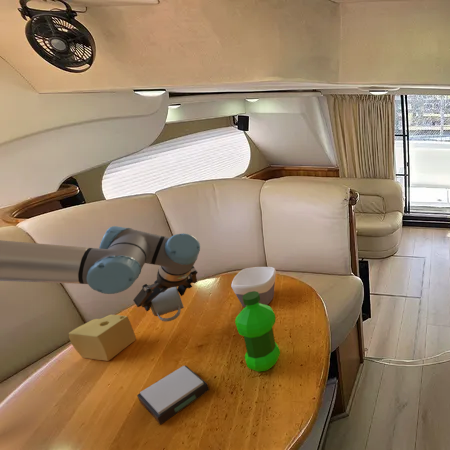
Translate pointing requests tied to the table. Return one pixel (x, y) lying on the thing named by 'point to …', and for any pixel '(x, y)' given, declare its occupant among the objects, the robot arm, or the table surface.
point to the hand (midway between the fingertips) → (163, 299)
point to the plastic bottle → (258, 333)
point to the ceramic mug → (167, 304)
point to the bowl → (255, 283)
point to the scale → (172, 393)
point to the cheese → (103, 337)
